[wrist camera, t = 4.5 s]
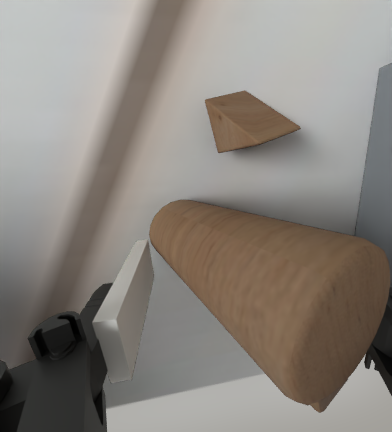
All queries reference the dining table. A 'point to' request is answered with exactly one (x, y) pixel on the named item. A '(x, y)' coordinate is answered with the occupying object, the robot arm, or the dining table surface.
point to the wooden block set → (277, 273)
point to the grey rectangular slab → (379, 172)
